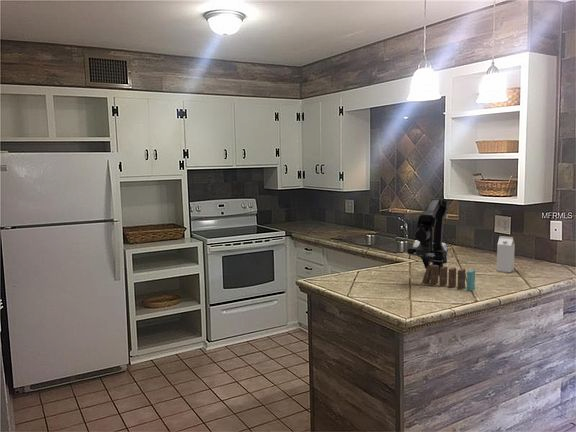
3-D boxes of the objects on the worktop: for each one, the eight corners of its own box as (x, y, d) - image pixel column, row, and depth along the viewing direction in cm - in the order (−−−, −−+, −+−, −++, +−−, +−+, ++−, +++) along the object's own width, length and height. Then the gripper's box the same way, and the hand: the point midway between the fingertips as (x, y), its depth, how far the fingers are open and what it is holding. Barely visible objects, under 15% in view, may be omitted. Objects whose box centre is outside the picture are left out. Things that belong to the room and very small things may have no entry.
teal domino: (466, 290, 229) (467, 271, 228) (470, 287, 233) (470, 269, 232) (470, 290, 228) (471, 272, 227) (474, 288, 232) (475, 270, 231)
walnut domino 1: (422, 282, 244) (427, 266, 241) (426, 279, 247) (431, 264, 245) (425, 283, 242) (430, 267, 240) (429, 281, 246) (434, 265, 244)
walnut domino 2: (430, 284, 241) (431, 266, 240) (434, 282, 245) (435, 264, 243) (434, 285, 240) (434, 267, 238) (438, 282, 243) (438, 265, 242)
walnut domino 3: (439, 285, 238) (439, 268, 237) (443, 283, 242) (443, 266, 241) (443, 286, 237) (443, 268, 236) (447, 284, 241) (447, 266, 239)
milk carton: (500, 268, 270) (501, 235, 268) (513, 270, 265) (515, 236, 263) (496, 271, 264) (497, 236, 262) (510, 272, 260) (511, 238, 258)
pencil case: (448, 256, 304) (448, 241, 303) (443, 259, 297) (443, 244, 296) (416, 253, 317) (417, 238, 316) (411, 255, 310) (411, 240, 309)
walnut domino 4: (448, 287, 235) (448, 269, 234) (452, 285, 239) (452, 267, 238) (452, 287, 234) (452, 269, 233) (456, 285, 238) (456, 267, 237)
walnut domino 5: (457, 288, 232) (457, 270, 231) (461, 286, 236) (461, 268, 235) (461, 289, 231) (461, 271, 230) (465, 287, 235) (465, 269, 234)
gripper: (402, 239, 242) (402, 269, 244) (438, 242, 230) (437, 274, 232) (412, 236, 250) (412, 265, 252) (447, 239, 238) (446, 270, 240)
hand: (426, 268), depth 244 cm, fingers closed
